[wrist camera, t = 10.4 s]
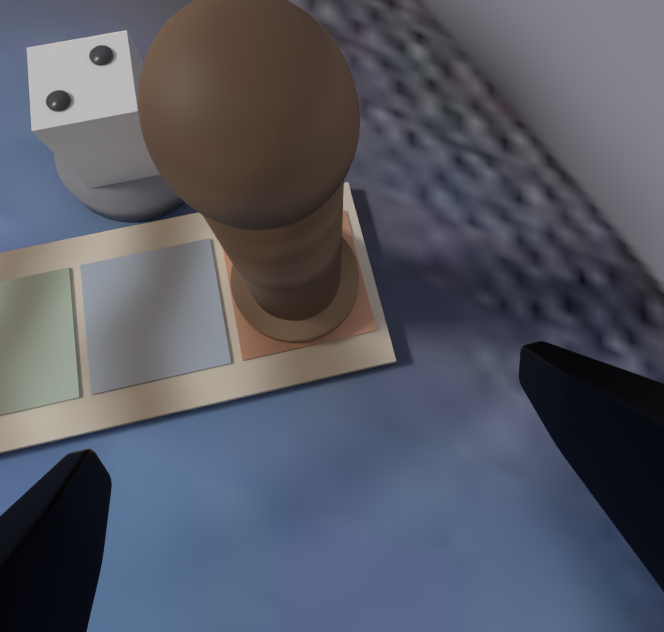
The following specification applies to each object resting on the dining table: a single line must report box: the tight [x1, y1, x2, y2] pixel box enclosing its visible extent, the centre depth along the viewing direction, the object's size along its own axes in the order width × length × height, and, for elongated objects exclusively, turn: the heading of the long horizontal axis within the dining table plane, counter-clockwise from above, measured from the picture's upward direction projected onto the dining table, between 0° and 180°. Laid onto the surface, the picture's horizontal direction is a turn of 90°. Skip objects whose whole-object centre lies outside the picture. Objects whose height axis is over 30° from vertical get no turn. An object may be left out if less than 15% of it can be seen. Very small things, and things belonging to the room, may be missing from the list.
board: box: [0, 182, 396, 454], centre depth 19 cm, size 20×9×1 cm, turn 103°
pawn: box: [138, 0, 360, 343], centre depth 13 cm, size 6×6×13 cm
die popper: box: [27, 30, 184, 222], centre depth 19 cm, size 7×7×5 cm
